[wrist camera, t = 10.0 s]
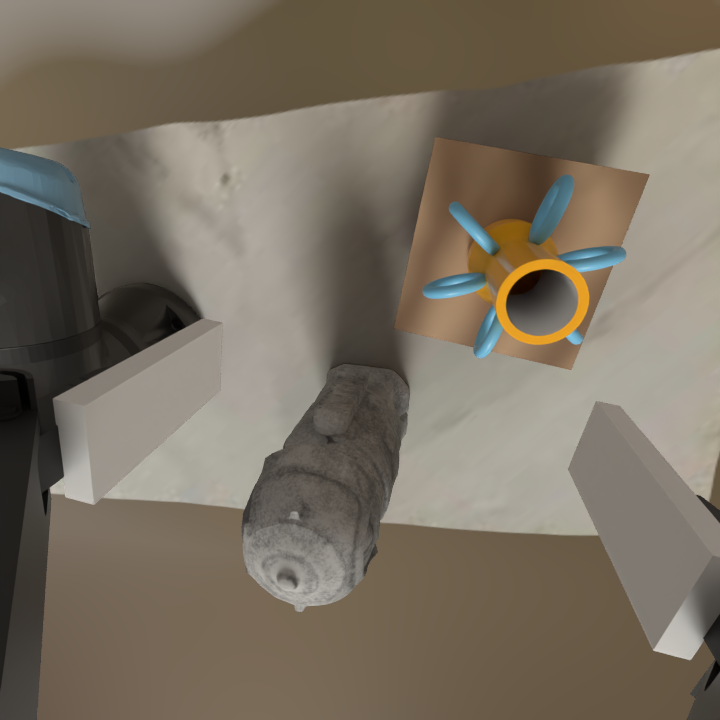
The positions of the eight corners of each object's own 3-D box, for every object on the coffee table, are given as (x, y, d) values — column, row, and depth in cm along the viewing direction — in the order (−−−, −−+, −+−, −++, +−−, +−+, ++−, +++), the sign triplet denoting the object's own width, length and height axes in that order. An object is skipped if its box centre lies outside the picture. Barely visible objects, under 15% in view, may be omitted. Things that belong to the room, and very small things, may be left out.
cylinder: (439, 336, 37) (430, 420, 23) (415, 209, 34) (388, 220, 20) (597, 309, 34) (695, 389, 20) (587, 167, 30) (695, 144, 17)
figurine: (327, 454, 53) (230, 649, 30) (327, 345, 48) (210, 482, 25) (406, 465, 51) (366, 681, 29) (414, 353, 46) (374, 508, 23)
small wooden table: (403, 306, 45) (393, 328, 37) (439, 147, 39) (435, 136, 32) (551, 340, 43) (571, 370, 36) (611, 178, 37) (649, 174, 30)
